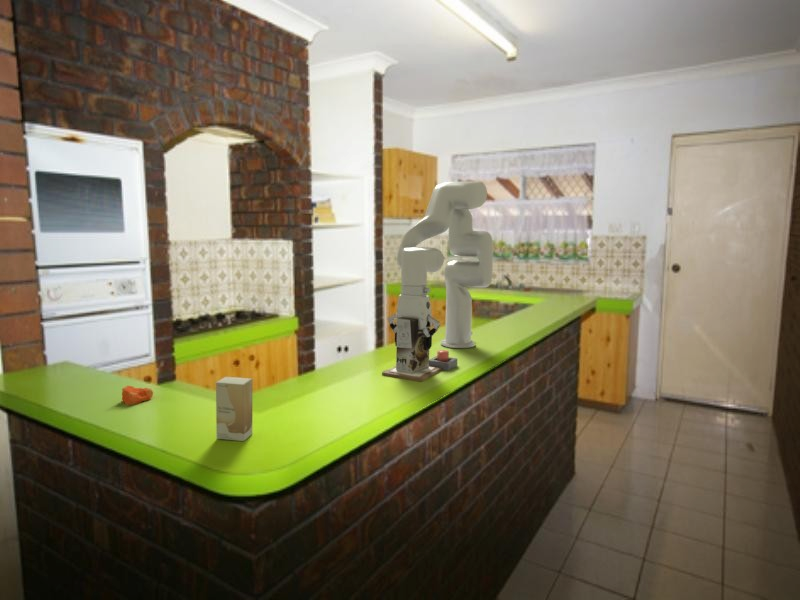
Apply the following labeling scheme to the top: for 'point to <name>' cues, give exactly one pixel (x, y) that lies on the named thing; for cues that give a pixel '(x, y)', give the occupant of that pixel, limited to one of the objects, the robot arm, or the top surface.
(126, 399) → the rock
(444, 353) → the button
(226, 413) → the skincare box
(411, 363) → the coffee box
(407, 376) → the board
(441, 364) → the button collar
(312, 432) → the top surface
